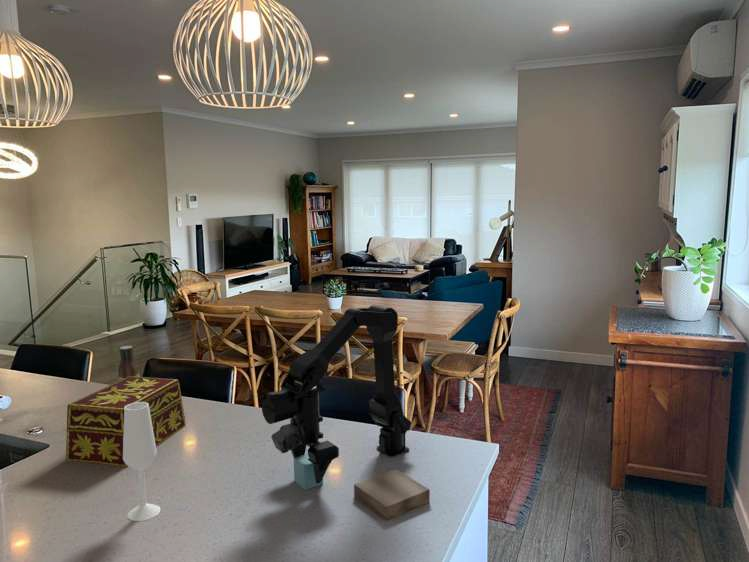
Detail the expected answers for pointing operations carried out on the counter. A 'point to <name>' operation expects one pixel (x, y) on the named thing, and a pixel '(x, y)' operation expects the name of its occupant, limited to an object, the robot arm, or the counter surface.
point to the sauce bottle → (127, 363)
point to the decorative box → (120, 418)
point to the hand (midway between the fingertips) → (308, 475)
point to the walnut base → (391, 494)
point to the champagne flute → (139, 453)
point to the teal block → (304, 472)
